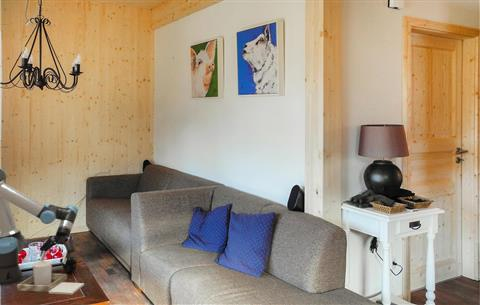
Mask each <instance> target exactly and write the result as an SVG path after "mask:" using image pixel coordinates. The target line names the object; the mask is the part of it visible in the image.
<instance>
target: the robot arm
mask: <svg viewBox="0 0 480 305" xmlns="http://www.w3.org/2000/svg"><path fill="white" fill-rule="evenodd" d="M6 180H7V174H6V171H4V169H3V168H2V167H0V286H4V285H5V284H6V285H11V284H15V283H17V282H19V281H21V280H23V272H22V270H21V268H20V266H19V254H20V253H21V252H22V251H23V250H24V248H25V246H26V238H25V236H24V235H23V234H22V232H21V229H19V228H17V226H16V222H15V218H14V215H13V212H12V208H11V206H10V203H11V204H12V205H14V206H15V207H17V208H20V209H21V210H23V211H25V212H27V213H29V215H30V214H31V215H32V216H34V217H36V218H37V219H39V220H40V222H41V223H43V224H45V225H50V224H52V223H53V222H54V221H55V220H59V225H58V228H57V230H56V231H55V236H53V235H50V236H48V238H47V240H46V241H45V242H44V243H43V244H42V245H41V246H40V247H39V250H40V251H41V252H40V256H39V257H40V259H39V260H38V262H39V261H45V258H46V255H47V251H49V250H51V249H52V248H53V247H54V246H56V245H64V248H65V249H66V251H65V252H64V255H63V257H62V258H63V261H62V263H63V264H65V263H66V260H67V258H68V259H70V257H71V256H70V255H71V254H72V253H75V247H74V237H73V236H72V235H70V234H71V233H72V232H71V231H72V229H73V227H74V224H75V221H76V219H77V216H78V215H77V214H78V213H79V209H78V207H76V206H74V205H67V206H66V207H61V206H58V205H54V204H49V203H45V204H42V203H41V202H39V201H38V200H35V199H34V198H32V197H30V196H28V195H27V194H24V193H22V192H21V191H19V190H17V189H16V188H14V187H13V186H11V185H9V184H7V181H6ZM67 242H69V244H68V243H67ZM62 263H61V264H62ZM63 264H62V265H63Z"/></svg>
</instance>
